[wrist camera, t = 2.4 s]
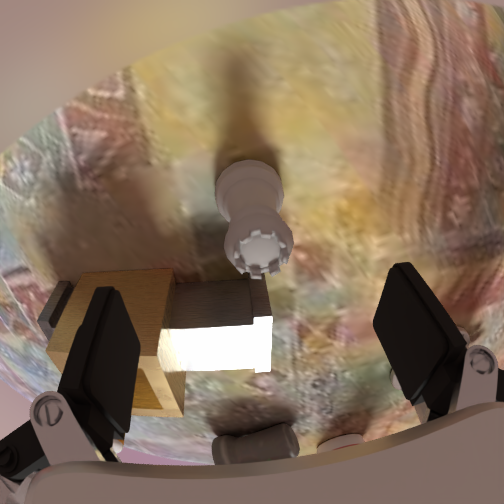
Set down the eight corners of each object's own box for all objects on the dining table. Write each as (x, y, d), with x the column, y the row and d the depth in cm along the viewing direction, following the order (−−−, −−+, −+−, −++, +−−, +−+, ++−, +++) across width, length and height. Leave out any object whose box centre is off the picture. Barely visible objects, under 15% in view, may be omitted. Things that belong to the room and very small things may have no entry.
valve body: (263, 262, 24) (280, 350, 16) (263, 332, 28) (275, 412, 21) (55, 274, 23) (15, 347, 15) (85, 336, 27) (63, 406, 20)
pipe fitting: (229, 449, 44) (237, 500, 35) (207, 430, 40) (213, 488, 31) (296, 427, 44) (312, 479, 34) (281, 406, 40) (299, 466, 31)
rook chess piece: (291, 203, 21) (322, 273, 14) (232, 228, 22) (237, 307, 15) (266, 146, 19) (291, 193, 12) (203, 175, 19) (191, 237, 13)
